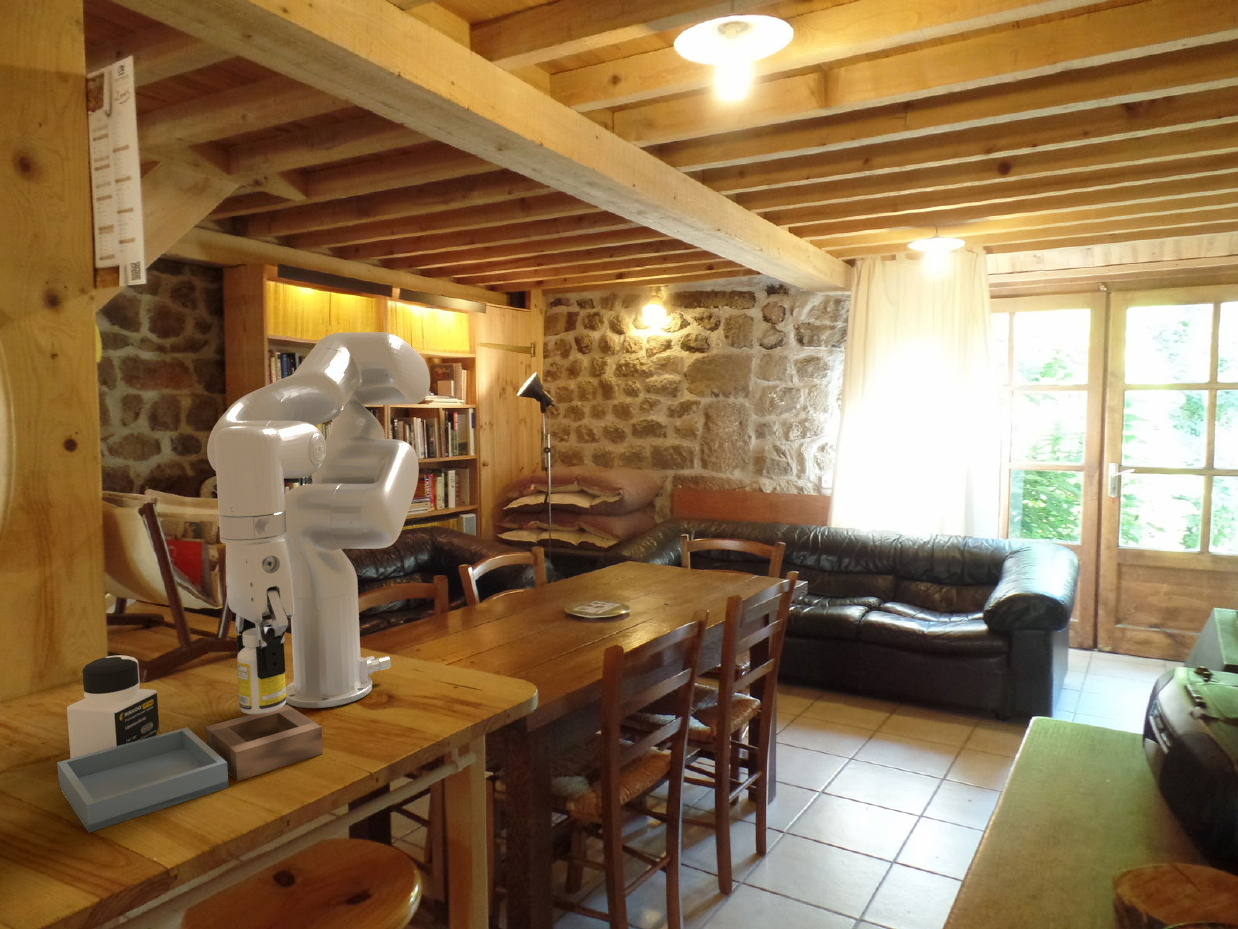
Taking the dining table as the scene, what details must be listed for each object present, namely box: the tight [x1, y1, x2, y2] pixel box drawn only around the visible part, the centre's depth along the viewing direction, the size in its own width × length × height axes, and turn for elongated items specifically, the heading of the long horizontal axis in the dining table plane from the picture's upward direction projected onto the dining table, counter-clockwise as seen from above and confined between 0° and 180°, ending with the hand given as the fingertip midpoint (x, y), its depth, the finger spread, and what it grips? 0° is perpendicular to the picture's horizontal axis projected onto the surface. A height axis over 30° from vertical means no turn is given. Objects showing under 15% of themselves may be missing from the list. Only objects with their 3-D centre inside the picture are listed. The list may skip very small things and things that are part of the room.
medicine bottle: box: [66, 654, 161, 759], centre depth 107 cm, size 7×7×12 cm
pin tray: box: [56, 726, 229, 834], centre depth 98 cm, size 14×14×3 cm
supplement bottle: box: [236, 626, 287, 715], centre depth 106 cm, size 5×5×10 cm
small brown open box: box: [204, 704, 324, 782], centre depth 106 cm, size 10×10×4 cm
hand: (261, 668), depth 106 cm, fingers closed on supplement bottle, 5 cm apart
